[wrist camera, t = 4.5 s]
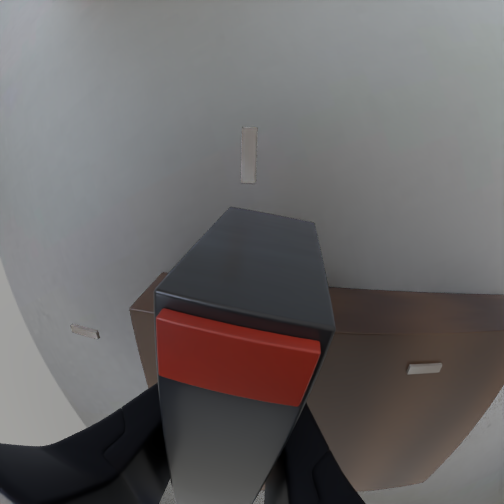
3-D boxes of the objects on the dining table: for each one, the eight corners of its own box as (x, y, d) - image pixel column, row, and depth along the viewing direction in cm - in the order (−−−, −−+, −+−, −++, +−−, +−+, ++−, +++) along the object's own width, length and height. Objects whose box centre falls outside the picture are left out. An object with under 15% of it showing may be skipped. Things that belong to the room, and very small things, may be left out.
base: (150, 431, 17) (134, 464, 14) (91, 140, 10) (39, 147, 7) (416, 450, 15) (423, 484, 12) (530, 179, 8) (575, 195, 5)
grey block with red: (253, 442, 11) (235, 534, 7) (205, 431, 11) (176, 520, 7) (315, 222, 7) (339, 341, 3) (229, 205, 8) (142, 299, 3)
